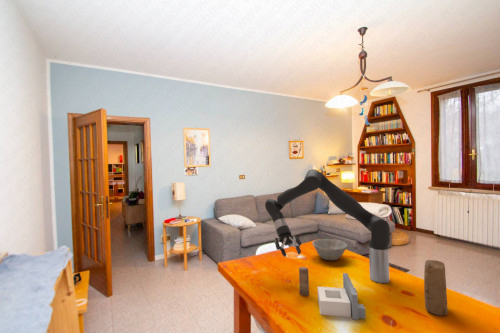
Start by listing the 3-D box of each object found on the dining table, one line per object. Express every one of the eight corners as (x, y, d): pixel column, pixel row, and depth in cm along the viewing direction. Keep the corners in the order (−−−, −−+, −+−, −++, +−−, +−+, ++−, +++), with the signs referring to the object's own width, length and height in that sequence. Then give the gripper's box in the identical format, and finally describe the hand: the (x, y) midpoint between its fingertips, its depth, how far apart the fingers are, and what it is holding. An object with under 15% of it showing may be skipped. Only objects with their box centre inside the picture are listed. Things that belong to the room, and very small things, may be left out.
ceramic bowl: (342, 252, 172) (341, 238, 172) (352, 265, 149) (352, 249, 149) (310, 252, 174) (309, 238, 174) (315, 265, 151) (315, 249, 152)
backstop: (343, 293, 117) (342, 273, 117) (354, 294, 116) (353, 273, 116) (352, 319, 97) (352, 294, 97) (366, 320, 96) (365, 295, 96)
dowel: (299, 290, 121) (298, 266, 121) (308, 291, 120) (308, 267, 120) (299, 295, 116) (299, 270, 116) (309, 296, 116) (308, 270, 116)
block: (447, 319, 95) (446, 268, 95) (424, 312, 100) (422, 264, 100) (447, 306, 104) (445, 260, 104) (425, 301, 109) (424, 256, 109)
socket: (318, 299, 113) (317, 286, 113) (345, 301, 111) (344, 288, 111) (320, 315, 101) (320, 300, 101) (351, 317, 99) (350, 302, 99)
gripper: (272, 226, 135) (282, 253, 124) (295, 223, 139) (306, 249, 128) (269, 233, 140) (278, 260, 129) (291, 230, 144) (301, 256, 133)
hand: (292, 254), depth 129 cm, fingers open, 8 cm apart
